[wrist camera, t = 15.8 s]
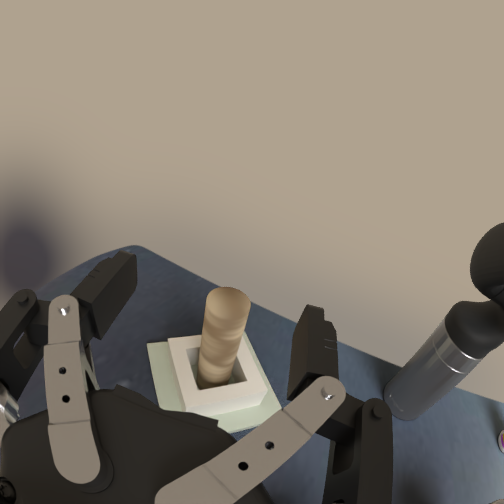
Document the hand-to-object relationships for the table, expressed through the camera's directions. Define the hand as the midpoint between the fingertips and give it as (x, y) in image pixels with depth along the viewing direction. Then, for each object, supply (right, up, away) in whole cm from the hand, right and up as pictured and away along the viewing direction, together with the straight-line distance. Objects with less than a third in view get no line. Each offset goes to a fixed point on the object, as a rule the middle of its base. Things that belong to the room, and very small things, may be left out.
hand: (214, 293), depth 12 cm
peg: (-4, -16, +24) cm, 29 cm away
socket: (-4, -17, +25) cm, 30 cm away
